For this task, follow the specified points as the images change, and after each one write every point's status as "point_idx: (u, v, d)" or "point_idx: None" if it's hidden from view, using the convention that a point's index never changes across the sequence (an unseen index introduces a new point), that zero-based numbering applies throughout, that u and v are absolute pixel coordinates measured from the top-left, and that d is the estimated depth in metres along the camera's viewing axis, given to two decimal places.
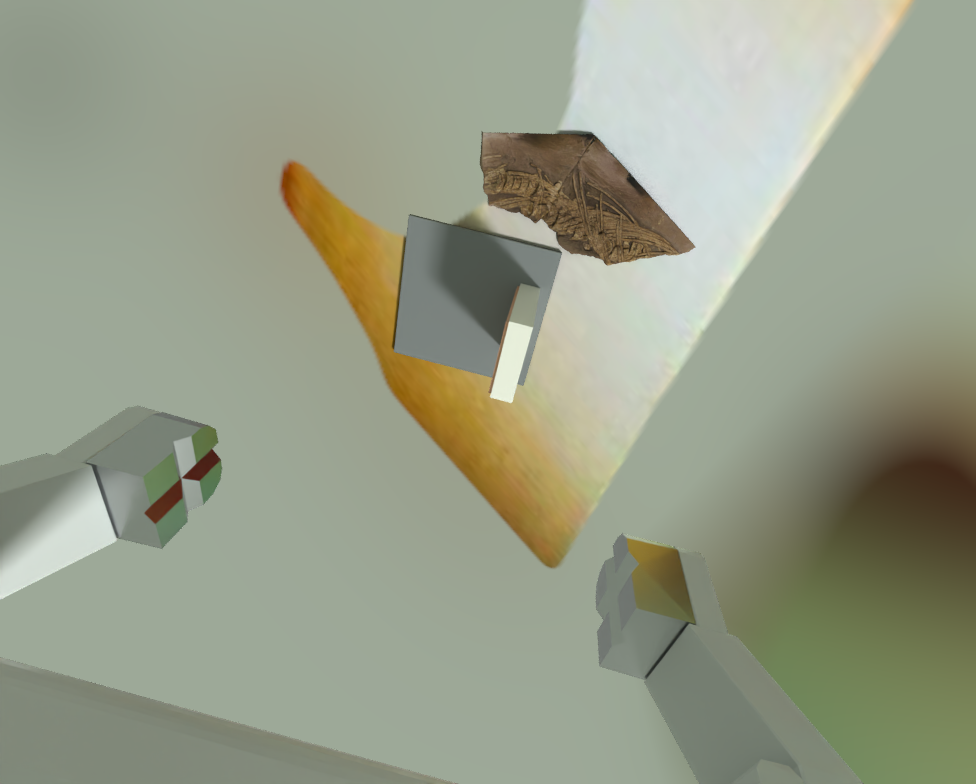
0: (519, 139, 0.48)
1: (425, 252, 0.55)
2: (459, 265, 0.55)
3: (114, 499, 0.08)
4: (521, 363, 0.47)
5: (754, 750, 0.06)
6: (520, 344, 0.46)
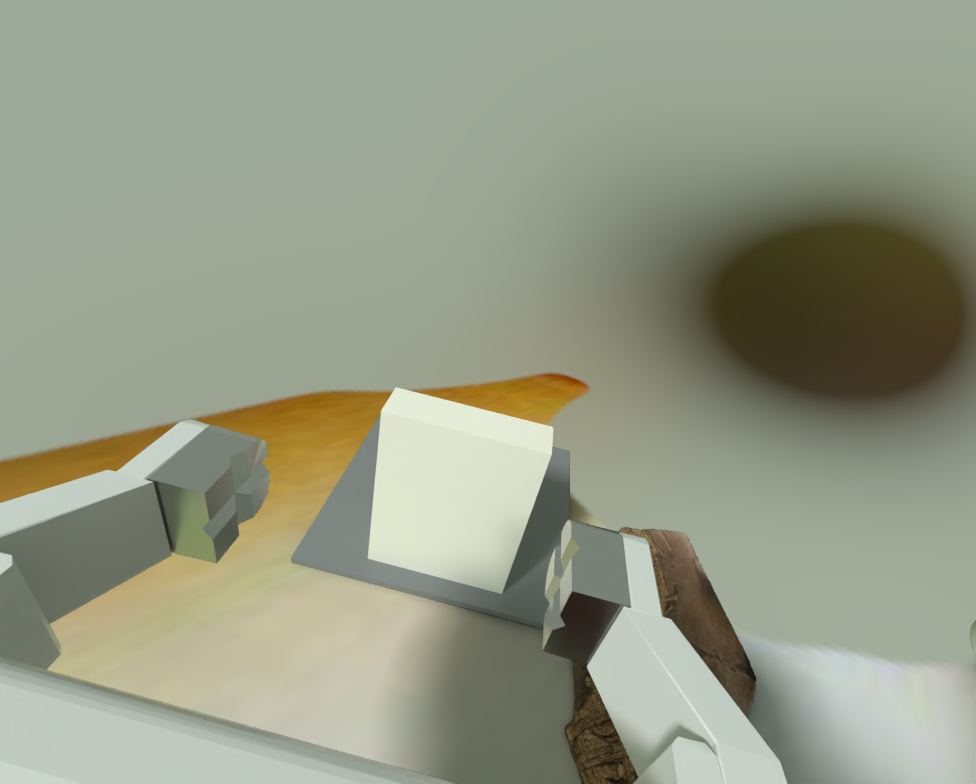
0: (697, 572, 0.35)
1: None
2: None
3: (173, 515, 0.08)
4: (474, 432, 0.24)
5: (678, 730, 0.06)
6: (512, 436, 0.24)
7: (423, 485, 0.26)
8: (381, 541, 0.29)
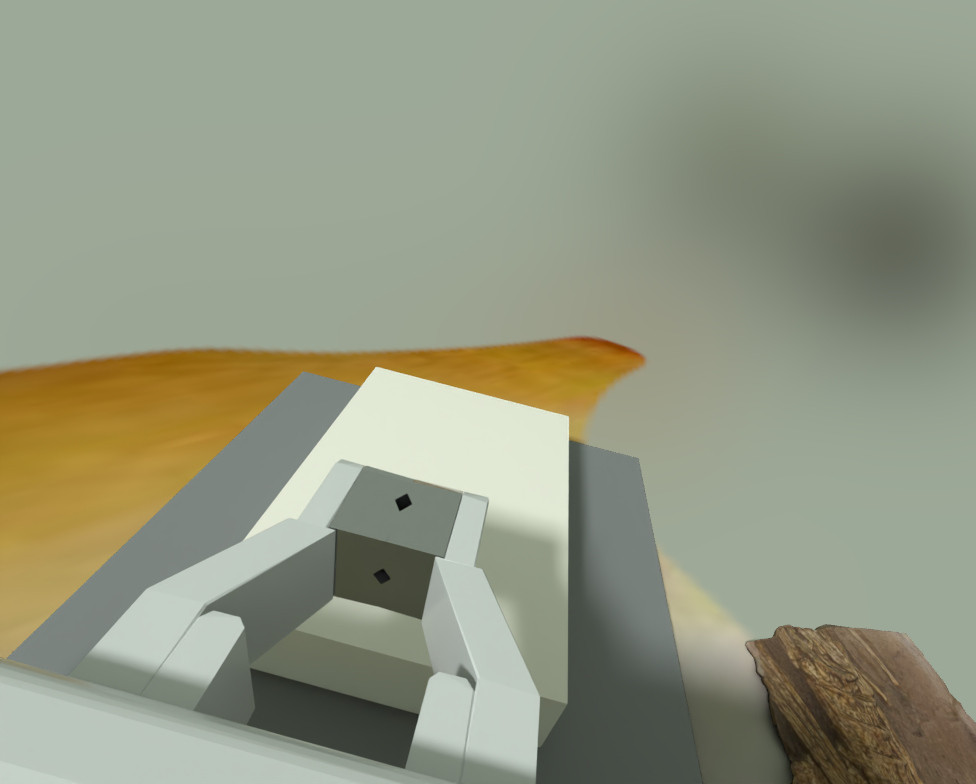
0: None
1: None
2: None
3: (346, 561, 0.08)
4: None
5: (461, 672, 0.06)
6: None
7: (407, 439, 0.17)
8: None
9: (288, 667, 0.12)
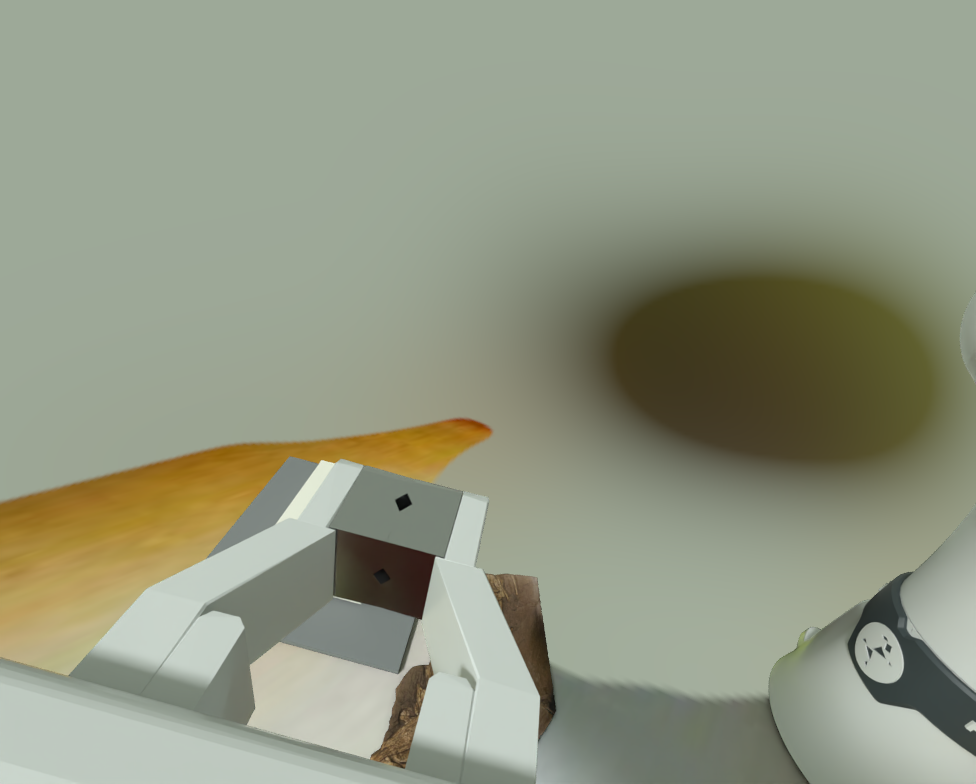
0: (535, 615, 0.41)
1: None
2: None
3: (346, 561, 0.08)
4: None
5: (461, 672, 0.06)
6: None
7: None
8: None
9: None
